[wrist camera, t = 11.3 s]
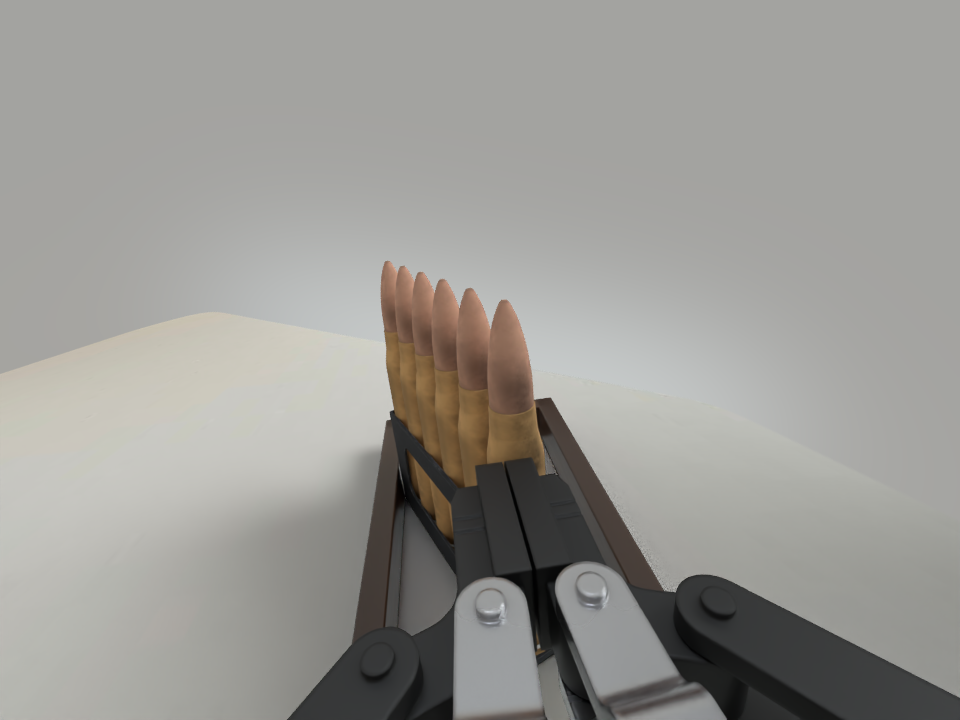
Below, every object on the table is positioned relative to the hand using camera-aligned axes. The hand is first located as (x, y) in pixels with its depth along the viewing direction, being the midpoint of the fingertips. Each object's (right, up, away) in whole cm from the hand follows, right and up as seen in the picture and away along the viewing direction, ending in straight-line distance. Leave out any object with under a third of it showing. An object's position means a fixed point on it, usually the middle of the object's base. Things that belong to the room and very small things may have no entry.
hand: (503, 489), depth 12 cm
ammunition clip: (-1, -5, +7) cm, 9 cm away
